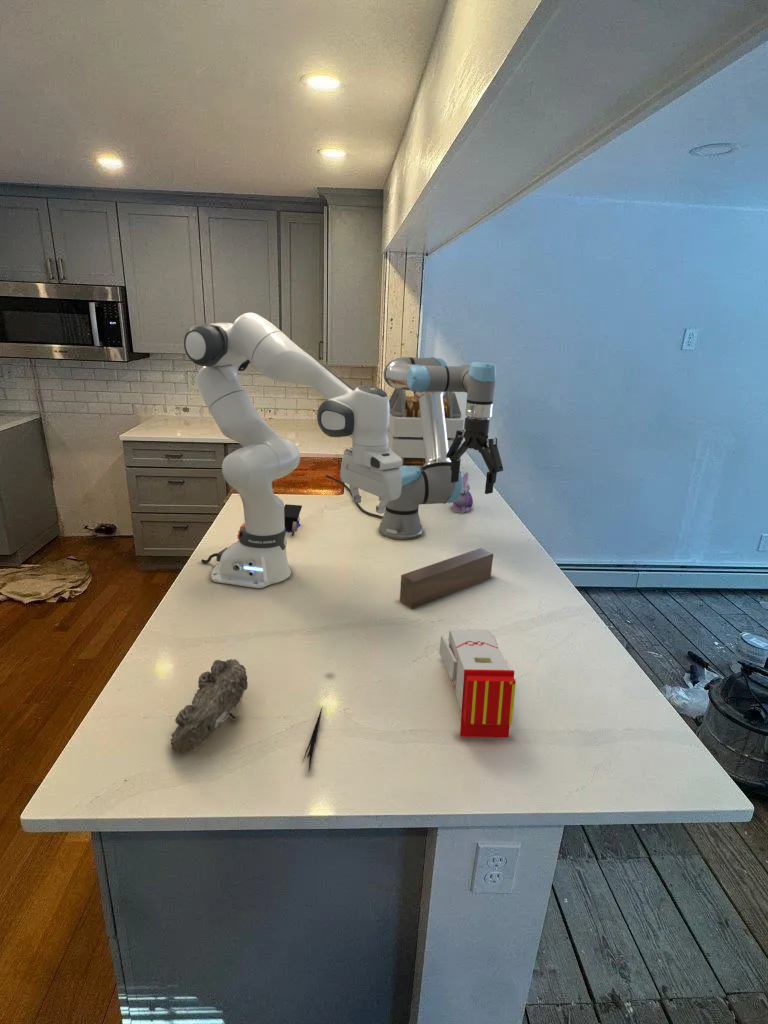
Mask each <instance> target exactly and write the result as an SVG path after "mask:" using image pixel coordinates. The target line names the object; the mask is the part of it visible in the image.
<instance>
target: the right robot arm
mask: <svg viewBox="0 0 768 1024" xmlns="http://www.w3.org/2000/svg"><path fill="white" fill-rule="evenodd" d="M383 379H384V381H385V383H386V384H387V385H388V386H389V387H391V388H393V389H394V390H395V389H400V390H405V391H411V392H413V396H414V397H415V398H416V399H418V400H419V406H420V415H421V424H422V433H423V442H424V451H425V461H426V463H425V464H424V465H423V466H421V467H420V466H406V465H404V466H401V467H398V468H399V469H400V470H401V474H402V489H401V495H400V497H399V498H398V499H395V500H391V501H388V503H387V505H386V506H385V512H384V513H383V515H381V514H376V513H372V512H369V511H367V510H365V509H364V508H363V507H362V506H361V505H360V503H355V505H356V507H358V509H359V510H360V511H361V512H362V513H364V514H366V515H368V516H371V517H375V518H379V519H381V522H379V526H378V533H379V534H380V535H381V536H382V537H385V538H387V539H389V540H395V541H410V540H415V539H418V538H420V537H421V536H422V535H423V525H422V524H421V518H420V515H419V507H420V505H435V504H436V505H439V504H443V505H446V504H453V502H456V501H457V500H458V499H459V497H460V495H461V492H462V487H463V476H464V475H463V473H462V471H461V462H460V461H457V460H460V459H459V458H461V457H462V456H463V455H464V454H465V453H466V452H467V451H468V450H469V449H470V450H475V451H478V453H480V454H481V457H482V459H483V461H484V463H485V465H486V467H487V469H488V471H487V472H486V477H485V478H486V479H485V486H484V487H485V488H484V494H485V495H489V494H493V492H494V484H496V482H497V475H498V474H497V473H500V472H504V467H503V462H502V459H501V456H500V455H501V454H500V451H499V448H498V438H497V437H489V433H490V431H491V423H492V420H491V418H492V416H493V407H494V403H493V402H494V394H495V389H496V388H495V387H496V380H497V366H496V364H494V363H492V362H484V361H475V362H471V364H470V365H468V364H466V365H465V364H461V365H448V362H447V361H446V360H444V359H443V358H440V357H439V358H438V357H434V356H433V357H409V356H408V357H407V356H403V357H398V358H394V359H392V360H391V361H389V362H388V363H386V364H385V366H384V369H383ZM446 392H454V393H466V404H465V405H466V406H465V416H466V417H465V418H464V422H463V430H457V431H456V436H455V439H454V441H453V443H452V445H451V447H450V449H448V440H447V432H446V423H445V415H444V407H443V398H442V397H443V396H444V395H445V393H446ZM461 442H462V443H461ZM460 444H461V447H460V448H459V446H460ZM458 448H459V449H458ZM325 477H326V478H328V479H330V480H332V481H335V482H336V483H339V484H340V485H342V486H343V487H344V488H345V489H346V490H347V492H349V495H350V496H351V498H352V499H353V496H352V493H351V491H350V487H349V486H348V485H347V484H346V483H344V482H342V481H341V480H339V479H338V478H335V477H333V476H330V475H328V474H326V475H325Z"/></svg>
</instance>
